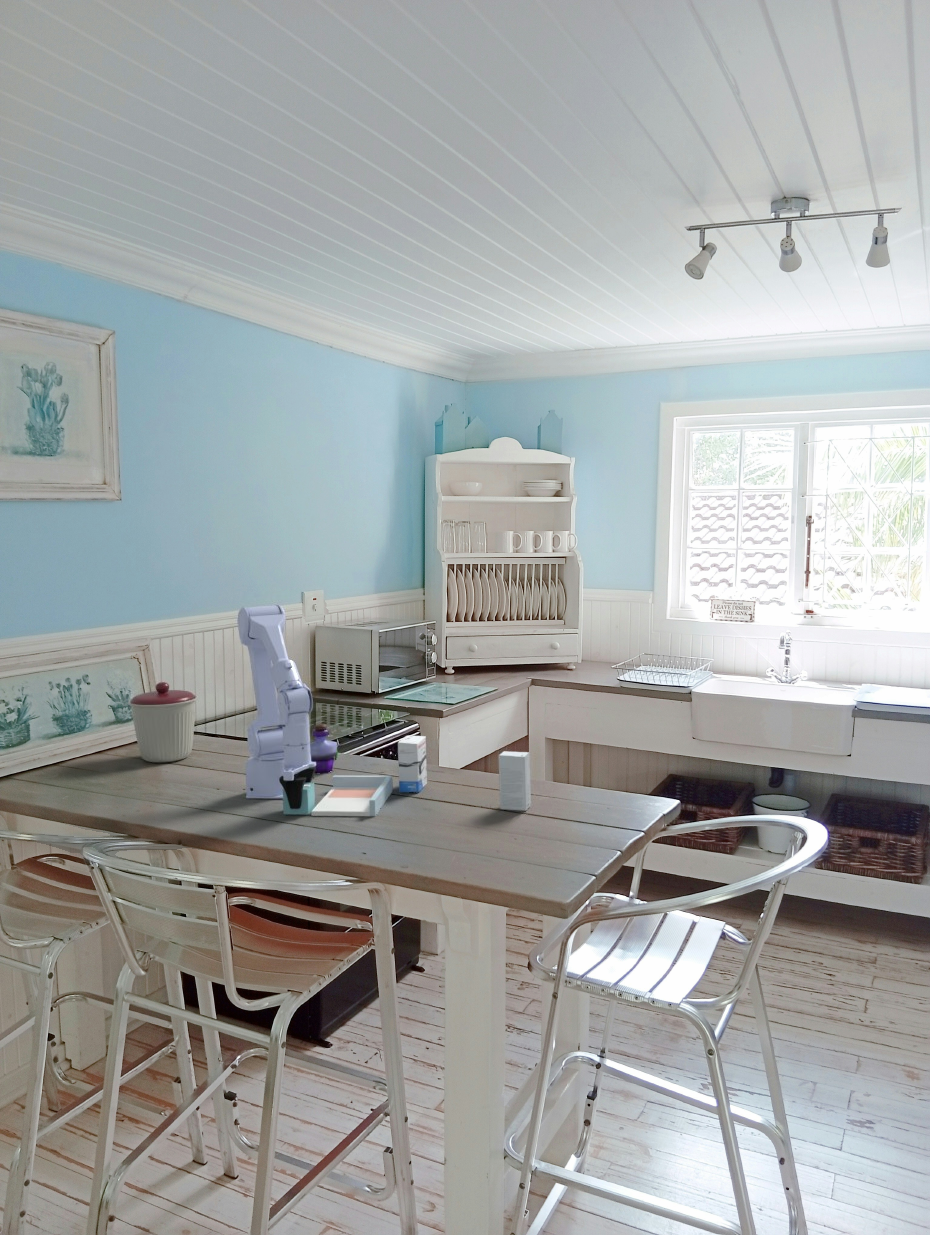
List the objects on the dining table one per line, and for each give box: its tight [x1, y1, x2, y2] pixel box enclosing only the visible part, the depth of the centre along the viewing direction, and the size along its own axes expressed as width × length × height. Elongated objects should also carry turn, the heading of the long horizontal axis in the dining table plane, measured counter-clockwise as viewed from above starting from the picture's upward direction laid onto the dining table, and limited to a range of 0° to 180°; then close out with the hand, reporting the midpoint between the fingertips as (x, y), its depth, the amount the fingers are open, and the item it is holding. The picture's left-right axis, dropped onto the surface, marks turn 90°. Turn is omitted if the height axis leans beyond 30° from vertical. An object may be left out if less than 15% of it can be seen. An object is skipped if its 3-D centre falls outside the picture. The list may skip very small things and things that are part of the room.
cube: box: [282, 782, 316, 815], centre depth 211 cm, size 6×6×6 cm
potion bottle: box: [310, 723, 339, 775], centre depth 245 cm, size 9×9×12 cm
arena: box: [310, 774, 394, 817], centre depth 217 cm, size 14×20×4 cm
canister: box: [127, 681, 199, 764], centre depth 263 cm, size 18×18×21 cm
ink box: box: [397, 734, 428, 794], centre depth 227 cm, size 8×5×12 cm, turn 168°
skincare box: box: [497, 750, 532, 812], centre depth 210 cm, size 6×4×12 cm
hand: (299, 804), depth 212 cm, fingers closed on cube, 5 cm apart
